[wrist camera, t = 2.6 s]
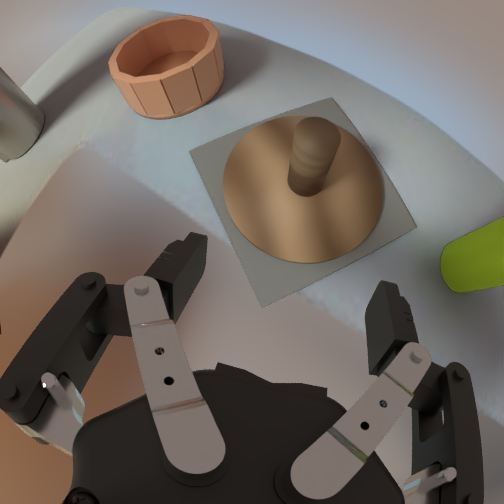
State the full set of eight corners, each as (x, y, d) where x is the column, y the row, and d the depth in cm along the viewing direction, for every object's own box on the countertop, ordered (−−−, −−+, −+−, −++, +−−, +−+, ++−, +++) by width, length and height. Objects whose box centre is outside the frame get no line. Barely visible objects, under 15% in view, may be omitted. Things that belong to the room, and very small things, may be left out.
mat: (261, 307, 27) (261, 307, 27) (189, 153, 31) (188, 151, 31) (414, 228, 28) (416, 226, 28) (330, 99, 32) (331, 97, 31)
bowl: (140, 136, 32) (118, 101, 25) (122, 77, 35) (104, 45, 28) (240, 92, 33) (235, 51, 26) (204, 41, 35) (196, 6, 28)
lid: (267, 293, 27) (268, 282, 18) (200, 154, 30) (180, 101, 22) (405, 222, 28) (449, 189, 19) (329, 105, 31) (343, 50, 22)
